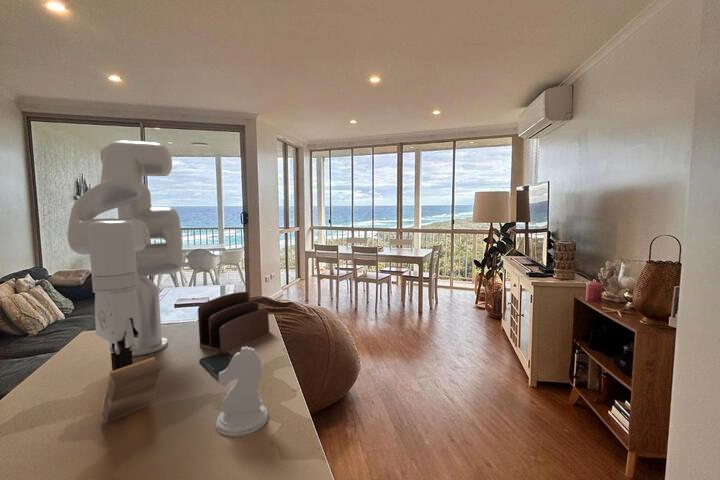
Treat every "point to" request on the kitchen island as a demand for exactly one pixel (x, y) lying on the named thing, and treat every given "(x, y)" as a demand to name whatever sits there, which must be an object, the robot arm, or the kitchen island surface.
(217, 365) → the phone
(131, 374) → the tan flat block
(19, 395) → the kitchen island surface
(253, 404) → the chess piece
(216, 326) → the letter holder
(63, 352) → the kitchen island surface
